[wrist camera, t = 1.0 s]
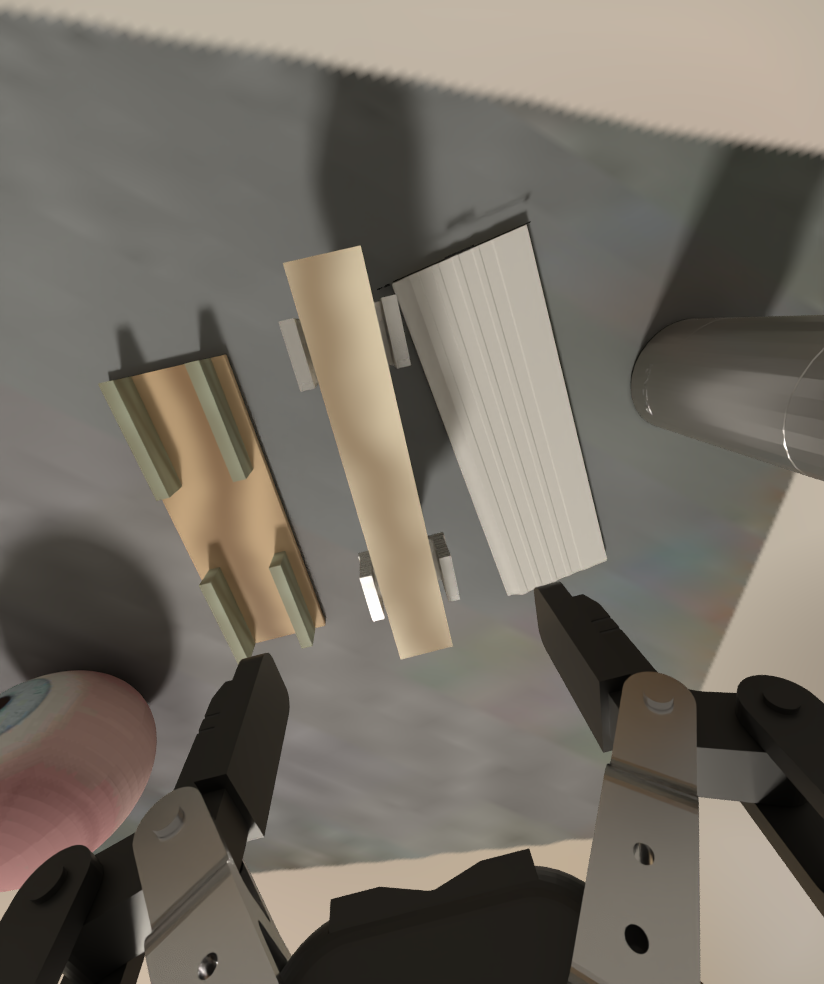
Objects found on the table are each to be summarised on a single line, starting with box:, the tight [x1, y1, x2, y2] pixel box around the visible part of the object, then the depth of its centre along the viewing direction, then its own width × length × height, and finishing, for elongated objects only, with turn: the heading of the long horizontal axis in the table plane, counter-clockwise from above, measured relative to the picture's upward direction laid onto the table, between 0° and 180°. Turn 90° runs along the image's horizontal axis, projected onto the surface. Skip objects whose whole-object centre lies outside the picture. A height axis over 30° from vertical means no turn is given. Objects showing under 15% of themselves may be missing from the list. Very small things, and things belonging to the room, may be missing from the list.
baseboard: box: [377, 221, 607, 596], centre depth 36 cm, size 31×3×12 cm
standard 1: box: [279, 294, 411, 391], centre depth 27 cm, size 6×4×11 cm, turn 102°
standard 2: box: [358, 532, 460, 621], centre depth 33 cm, size 6×4×11 cm, turn 102°
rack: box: [98, 355, 326, 664], centre depth 35 cm, size 9×26×3 cm, turn 12°
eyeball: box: [0, 670, 157, 892], centre depth 35 cm, size 15×15×15 cm
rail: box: [283, 245, 453, 659], centre depth 25 cm, size 4×24×5 cm, turn 12°
